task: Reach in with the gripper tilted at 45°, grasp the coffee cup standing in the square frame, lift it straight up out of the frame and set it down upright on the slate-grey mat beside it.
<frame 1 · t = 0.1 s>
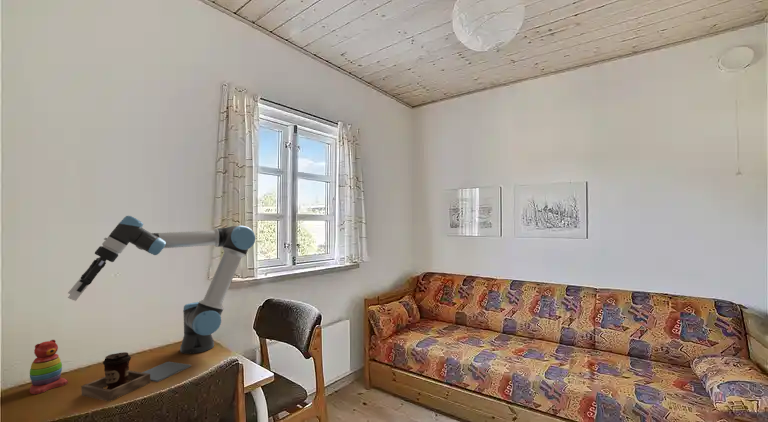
hand: (71, 296, 141), 36 cm above the table, tool tilted 35°, fingers open, 13 cm apart
stacking bear: (46, 387, 143), on the table
coffee cup: (117, 389, 139), resting in square frame
square frame: (117, 388, 139), on the table
mat: (163, 371, 154), on the table
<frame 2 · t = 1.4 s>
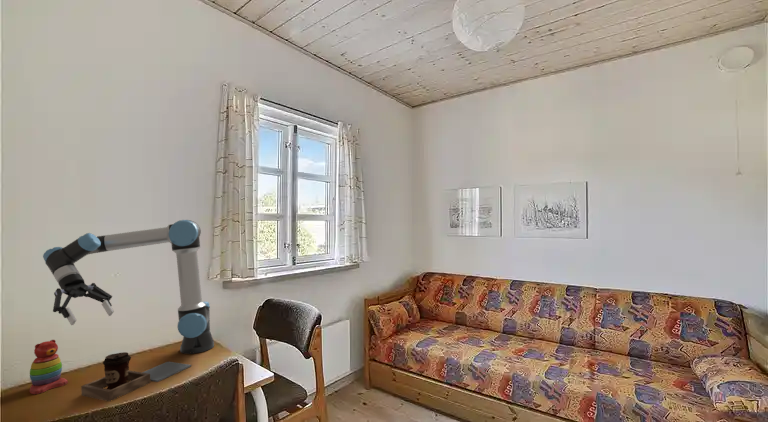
hand: (93, 318, 144), 26 cm above the table, tool tilted 45°, fingers open, 13 cm apart
nothing on the table moved.
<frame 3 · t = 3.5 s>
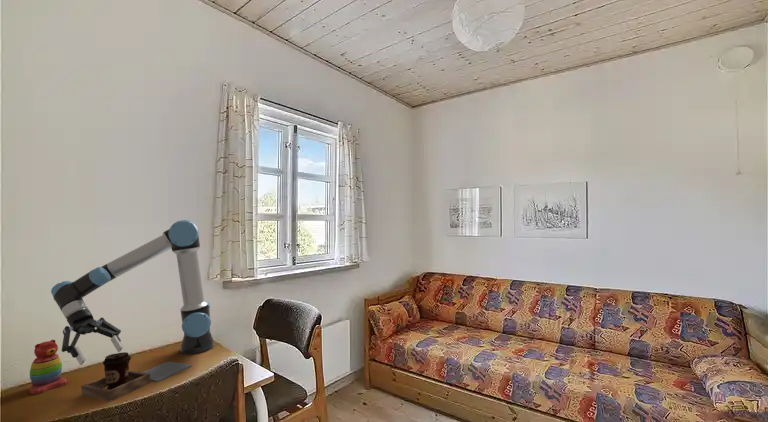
hand: (102, 355, 141), 12 cm above the table, tool tilted 45°, fingers open, 13 cm apart
nothing on the table moved.
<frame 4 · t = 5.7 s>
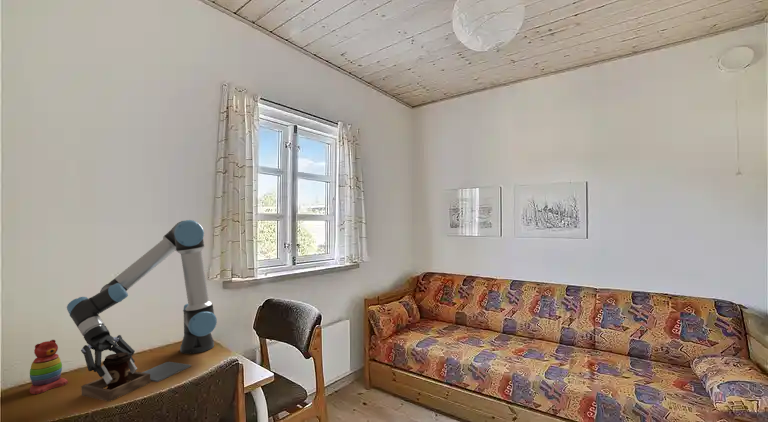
hand: (122, 376, 138), 5 cm above the table, tool tilted 45°, fingers closed on coffee cup, 9 cm apart
coffee cup: (117, 389, 139), resting in square frame, touching gripper
everything else where it was.
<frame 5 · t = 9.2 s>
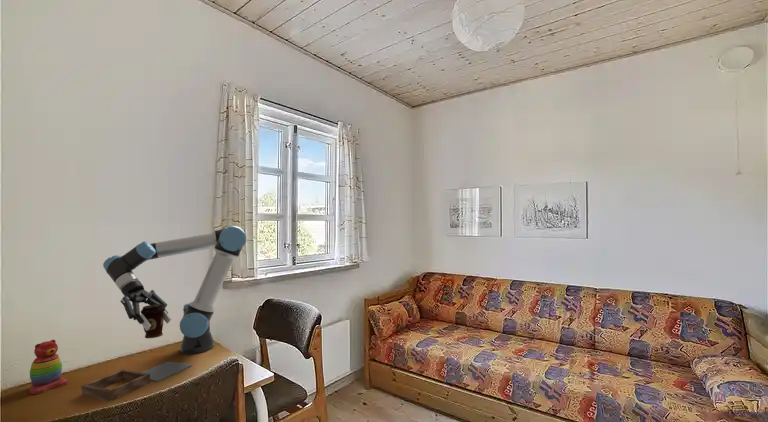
hand: (159, 324, 151), 21 cm above the table, tool tilted 45°, fingers closed on coffee cup, 9 cm apart
coffee cup: (153, 337, 152), point 16 cm above the table, touching gripper
everything else where it was.
when the fingers open (7 cm above the table, at t = 12.6 s): coffee cup drops 1 cm, resting on mat.
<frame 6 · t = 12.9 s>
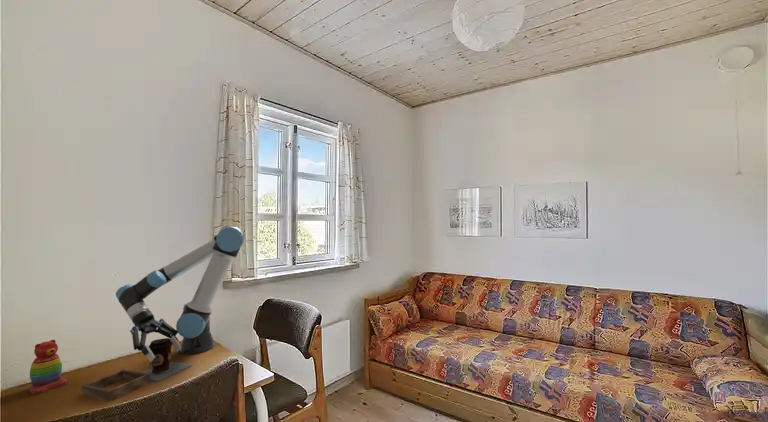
hand: (166, 354, 153), 8 cm above the table, tool tilted 45°, fingers open, 11 cm apart
coffee cup: (160, 371, 154), resting on mat
everything else where it was.
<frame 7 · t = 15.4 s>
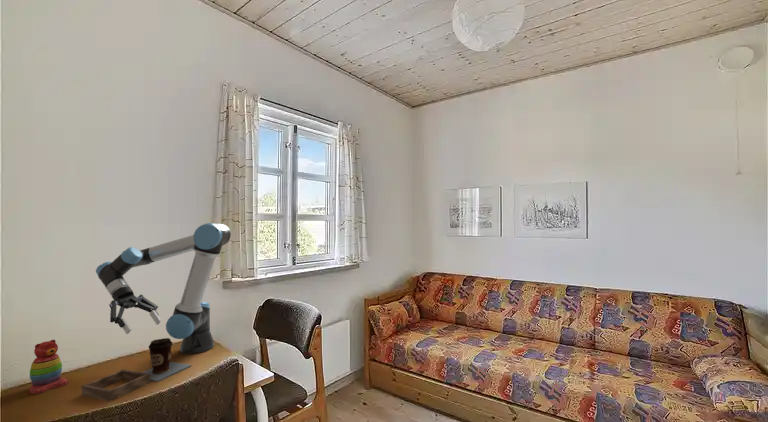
hand: (144, 327, 158), 18 cm above the table, tool tilted 45°, fingers open, 13 cm apart
nothing on the table moved.
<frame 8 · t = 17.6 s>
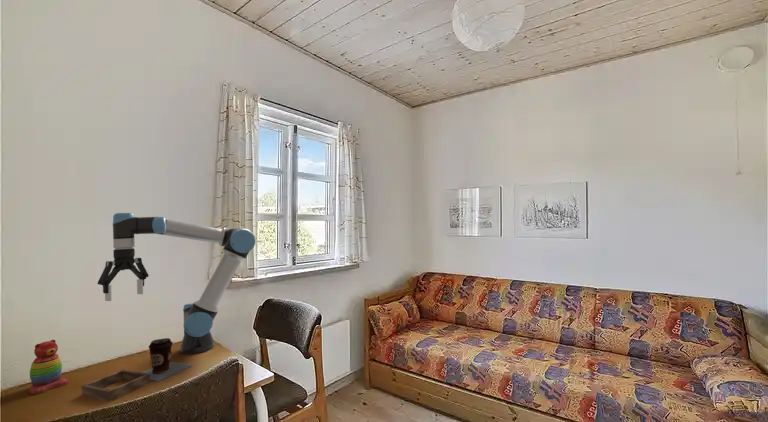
hand: (124, 297, 157), 32 cm above the table, tool pointing down, fingers open, 13 cm apart
nothing on the table moved.
at the end: coffee cup inside the target area on the mat (0.9 cm from its centre), point 0.4 cm above the mat's base; coffee cup tilted 0°; the gripper is holding nothing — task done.
